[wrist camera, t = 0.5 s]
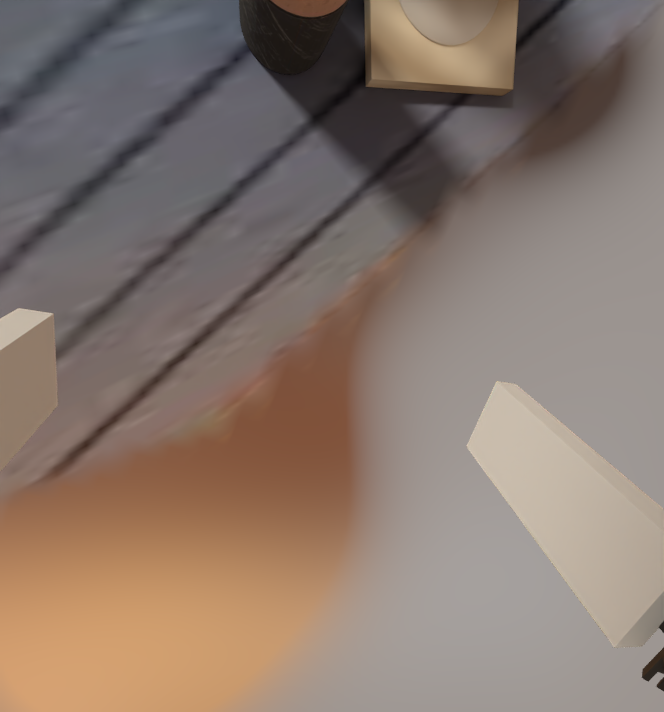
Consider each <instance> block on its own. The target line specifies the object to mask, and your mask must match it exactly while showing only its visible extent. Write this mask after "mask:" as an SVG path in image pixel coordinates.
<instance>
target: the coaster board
mask: <svg viewBox="0 0 664 712" xmlns="http://www.w3.org/2000/svg"><path fill="white" fill-rule="evenodd" d="M518 2H519V0H364V12H365V71H366V87H377V88H392V89H407V90H422V91H437V92H452V93H467V94H482V95H497V96H503V95H504V94H506V93H508V92H509V91H511V90H513V81H514V65H515V49H516V34H517V18H518Z"/></svg>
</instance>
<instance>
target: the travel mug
mask: <svg viewBox="0 0 664 712" xmlns="http://www.w3.org/2000/svg"><path fill="white" fill-rule="evenodd" d="M347 2H348V0H239V9H240V23H241V28H242V32H243V36H244V38H245V41H246V43H247V45H248V47H249V49H250V50H251V52H252V53H253V55H254V56H255V57H256V58H257V59H258V60H259V61H260V62H261V63H262V64H263V65H264V66H266V67H267V68H269V69H271V70H273V71H275V72H278V73H281V74H289V75H291V74H298V73H301V72H303V71H306V70H307V69H309V68H310V67H311V66H313V65H314V64H315V62H316V61H317V60H318V59H319V57H320V55H321V54H322V52H323V50H324V48H325V46H326V44H327V42H328V40H329V38H330V36H331V34H332V32H333V30H334V28H335V26H336V24H337V22H338V20H339V18H340V16H341V14H342V12H343V10H344V8H345V6H346V4H347Z"/></svg>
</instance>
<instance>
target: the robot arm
mask: <svg viewBox="0 0 664 712" xmlns="http://www.w3.org/2000/svg"><path fill="white" fill-rule="evenodd" d="M57 406H58V392H57V372H56V352H55V331H54V314H53V313H46V312H40V311H33V310H27V309H20V308H18V309H16V310H15V311H13V312H11V313H9V314H8V315H6V316H4V317H2V318H1V319H0V472H1V471H2V469H3V468H4V467H5V466H6V465H7V464H8V462H9V461H10V460H11V459H12V458H13V457H14V456H15V454H16V453H17V452H18V451H19V450H20V449H21V448H22V446H23V445H24V444H25V443H26V442H27V441H28V439H29V438H30V437H31V436H32V435H33V434H34V433H35V431H36V430H37V429H38V428H39V427H40V426H41V424H42V423H43V422H44V421H45V420H46V419H47V418H48V416H49V415H50V414H51V413H52V412H53V411H54V409H55V408H56V407H57ZM466 447H467V448H468V449H469V451H470V452H471V454H472V455H473V456H474V458H475V459H476V460H477V462H478V463H479V465H480V466H481V467H482V469H483V470H484V471H485V473H486V474H487V475H488V477H489V478H490V479H491V481H492V482H493V484H494V485H495V486H496V488H497V489H498V490H499V492H500V493H501V494H502V496H503V497H504V499H505V500H506V501H507V503H508V504H509V505H510V506H511V508H512V509H513V510H514V512H515V513H516V515H517V516H518V518H519V519H520V520H521V522H522V523H523V524H524V526H525V527H526V528H527V530H528V531H529V532H530V534H531V535H532V536H533V538H534V539H535V541H536V542H537V543H538V545H539V546H540V547H541V549H542V550H543V551H544V553H545V554H546V555H547V557H548V558H549V560H550V561H551V562H552V564H553V565H554V566H555V568H556V569H557V570H558V572H559V573H560V575H561V576H562V577H563V579H564V580H565V581H566V583H567V584H568V585H569V587H570V588H571V589H572V591H573V592H574V594H575V595H576V596H577V598H578V599H579V600H580V602H581V603H582V604H583V605H584V607H585V608H586V610H587V611H588V612H589V614H590V615H591V617H592V618H593V619H594V621H595V622H596V623H597V625H598V626H599V627H600V629H601V630H602V631H603V633H604V634H605V636H606V637H607V638H608V640H609V641H610V642H611V644H612V645H613V646H614V648H618V647H638V646H643V645H644V644H645V643H646V641H647V640H648V639H649V638H650V637H651V636H652V635H653V634H654V633H655V632H656V631H657V629H658V628H660V629H661V630H662V632H663V633H664V509H663V508H662V507H661V506H659V505H658V504H657V503H656V502H655V501H654V500H652V499H651V498H650V497H649V496H648V495H646V494H645V493H644V492H643V491H642V490H640V489H639V488H638V487H637V486H636V485H635V484H633V483H632V482H631V481H630V480H629V479H628V478H626V477H625V476H624V475H623V474H621V473H620V472H619V471H618V470H617V469H616V468H615V467H613V466H612V465H611V464H610V463H608V462H607V461H606V460H605V459H604V458H603V457H602V456H600V455H599V454H598V453H596V451H594V450H593V449H592V448H591V447H590V446H589V445H587V444H586V443H585V442H584V441H583V440H581V439H580V438H579V437H578V436H577V435H575V434H574V433H573V432H572V431H570V430H569V429H568V428H567V427H566V426H565V425H564V424H562V423H561V422H560V421H559V420H558V419H557V418H555V417H554V416H553V415H552V414H551V413H549V412H548V411H547V410H546V409H545V408H543V407H542V406H541V405H540V404H539V403H538V402H536V401H535V400H534V399H533V398H532V397H530V396H529V395H528V394H527V393H526V392H525V391H523V390H522V389H521V388H520V387H519V386H517V385H516V384H512V383H505V382H499V381H497V382H496V384H495V386H494V388H493V390H492V392H491V395H490V397H489V399H488V401H487V403H486V405H485V407H484V410H483V412H482V414H481V416H480V418H479V420H478V423H477V425H476V427H475V429H474V431H473V433H472V436H471V438H470V440H469V442H468V444H467V446H466ZM657 672H660V673H663V674H664V648H663V649H662V650H661V651H660V652H659V653H658V654H657V655H656V656H655V657H654V658H653V659H652V660H651V661H650V662H649V663H648V665H646V666H645V668H644V669H643V672H642V678H643V679H645V680H646V681H649V680H650V679H651V678H652V677H653V676H654V675H655V674H656V673H657ZM657 687H658V688H659V689H661V690H663V691H664V678H663V679H662V680H660V682H659V683H658V684H657Z"/></svg>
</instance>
